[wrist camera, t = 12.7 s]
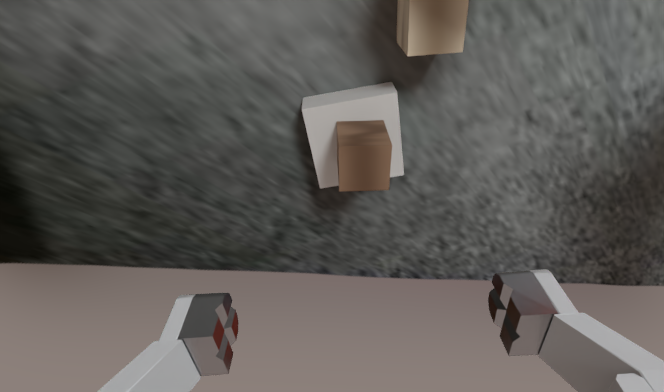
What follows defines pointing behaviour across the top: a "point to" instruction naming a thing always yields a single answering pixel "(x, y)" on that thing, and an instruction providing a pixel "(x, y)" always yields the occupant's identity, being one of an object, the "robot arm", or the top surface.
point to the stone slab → (349, 107)
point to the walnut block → (363, 155)
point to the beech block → (431, 26)
